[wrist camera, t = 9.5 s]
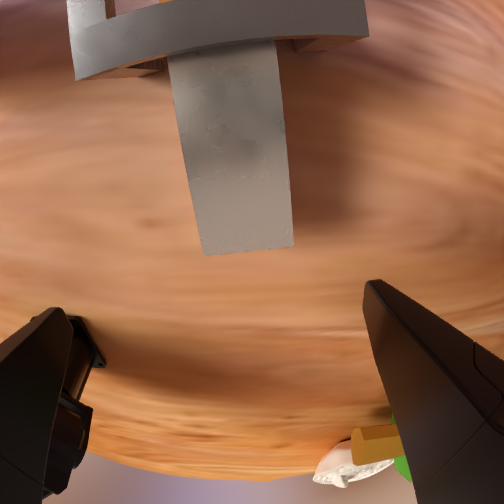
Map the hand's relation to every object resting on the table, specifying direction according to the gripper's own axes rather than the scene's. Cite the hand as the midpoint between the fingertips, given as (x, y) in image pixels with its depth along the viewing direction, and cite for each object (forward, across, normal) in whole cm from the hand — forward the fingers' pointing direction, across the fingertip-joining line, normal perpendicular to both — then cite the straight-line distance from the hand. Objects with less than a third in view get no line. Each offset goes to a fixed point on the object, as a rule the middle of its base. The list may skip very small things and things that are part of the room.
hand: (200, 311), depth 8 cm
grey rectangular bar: (+12, -1, -8) cm, 14 cm away
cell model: (+12, -11, +39) cm, 42 cm away
